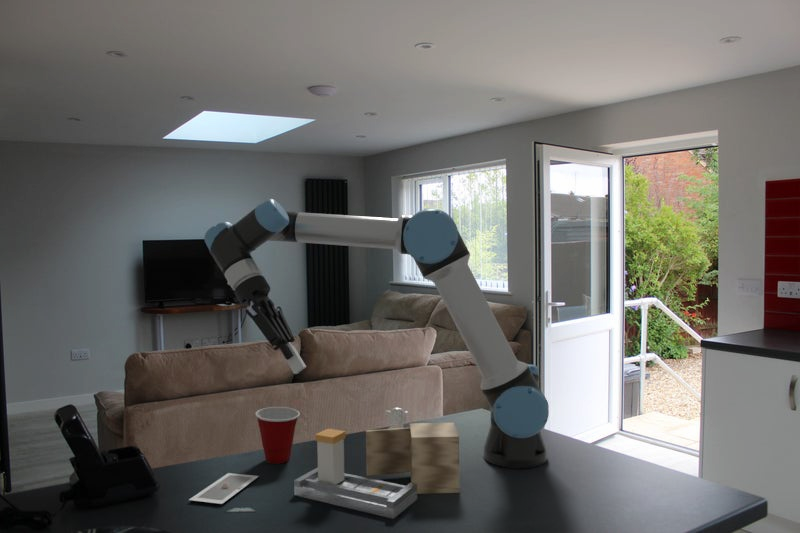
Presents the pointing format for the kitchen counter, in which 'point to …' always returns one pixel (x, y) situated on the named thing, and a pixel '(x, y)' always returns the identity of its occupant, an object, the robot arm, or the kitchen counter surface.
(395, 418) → the sitting furry creature
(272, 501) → the kitchen counter surface
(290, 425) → the plastic cup
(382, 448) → the wooden cabinet
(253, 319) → the robot arm
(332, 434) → the fader knob
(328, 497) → the fader track
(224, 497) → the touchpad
